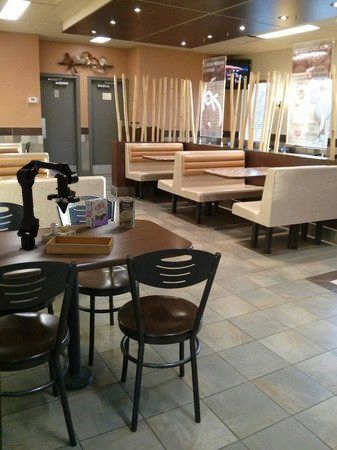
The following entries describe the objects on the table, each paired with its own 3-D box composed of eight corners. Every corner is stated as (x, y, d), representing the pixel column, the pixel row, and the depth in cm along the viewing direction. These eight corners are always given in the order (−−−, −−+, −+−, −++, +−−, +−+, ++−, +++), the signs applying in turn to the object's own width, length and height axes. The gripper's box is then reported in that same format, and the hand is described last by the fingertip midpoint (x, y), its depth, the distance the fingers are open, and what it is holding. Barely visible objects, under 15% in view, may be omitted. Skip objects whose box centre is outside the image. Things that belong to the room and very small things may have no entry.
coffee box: (118, 227, 247) (118, 201, 243) (120, 225, 253) (120, 199, 249) (133, 228, 246) (133, 202, 242) (135, 225, 252) (135, 200, 248)
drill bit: (55, 241, 217) (54, 225, 214) (49, 240, 218) (48, 224, 216) (60, 239, 220) (59, 223, 218) (54, 238, 222) (53, 222, 220)
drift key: (67, 236, 225) (67, 228, 224) (60, 235, 227) (60, 226, 226) (69, 236, 226) (69, 227, 225) (62, 234, 228) (62, 226, 227)
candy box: (92, 228, 245) (91, 201, 241) (85, 226, 248) (84, 200, 244) (108, 223, 255) (108, 198, 251) (102, 222, 259) (101, 197, 255)
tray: (113, 246, 211) (113, 236, 209) (109, 255, 196) (109, 244, 195) (55, 245, 211) (54, 235, 209) (46, 255, 196) (45, 243, 195)
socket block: (56, 243, 213) (56, 237, 213) (42, 240, 217) (41, 235, 217) (75, 235, 227) (75, 230, 226) (61, 233, 231) (61, 228, 231)
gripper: (85, 185, 222) (86, 212, 226) (59, 182, 231) (60, 209, 234) (72, 187, 213) (73, 216, 217) (45, 185, 221) (47, 212, 225)
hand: (64, 213), depth 223 cm, fingers closed
